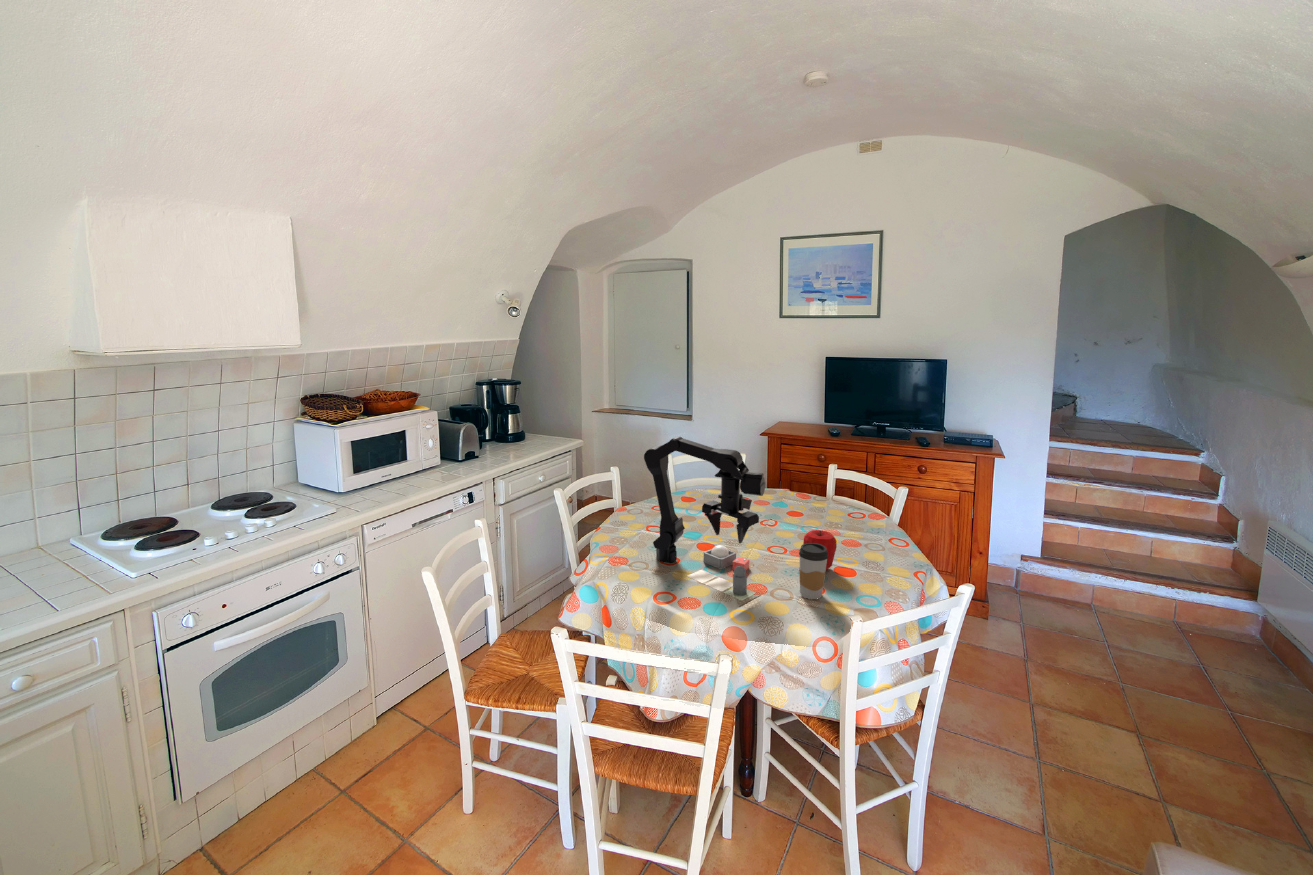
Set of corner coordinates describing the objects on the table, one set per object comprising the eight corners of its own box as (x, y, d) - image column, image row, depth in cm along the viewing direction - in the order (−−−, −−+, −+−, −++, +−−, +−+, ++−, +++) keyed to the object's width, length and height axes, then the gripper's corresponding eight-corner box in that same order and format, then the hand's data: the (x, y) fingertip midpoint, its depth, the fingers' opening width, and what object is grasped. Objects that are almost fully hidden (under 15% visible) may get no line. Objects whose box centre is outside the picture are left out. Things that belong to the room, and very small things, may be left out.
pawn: (730, 592, 178) (730, 566, 176) (738, 587, 180) (739, 562, 179) (740, 597, 175) (740, 570, 173) (749, 592, 178) (749, 566, 176)
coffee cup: (820, 588, 183) (823, 541, 180) (829, 601, 175) (832, 553, 172) (793, 588, 183) (796, 542, 179) (800, 601, 175) (803, 553, 171)
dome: (706, 562, 199) (707, 545, 197) (718, 557, 203) (719, 540, 201) (720, 568, 194) (721, 551, 193) (732, 563, 198) (733, 545, 197)
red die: (732, 573, 193) (732, 560, 192) (737, 568, 196) (737, 555, 195) (744, 575, 191) (744, 563, 190) (748, 571, 194) (749, 558, 193)
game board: (681, 580, 188) (681, 576, 188) (703, 570, 195) (703, 567, 194) (739, 607, 172) (739, 603, 172) (761, 595, 179) (761, 591, 178)
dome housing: (702, 565, 199) (703, 552, 198) (718, 558, 204) (718, 545, 203) (721, 572, 193) (721, 559, 192) (736, 565, 199) (736, 552, 198)
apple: (835, 577, 190) (838, 537, 187) (802, 574, 192) (804, 534, 189) (833, 563, 200) (835, 525, 197) (801, 561, 202) (803, 522, 199)
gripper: (770, 492, 185) (768, 540, 189) (723, 479, 198) (722, 524, 202) (748, 500, 178) (746, 550, 181) (701, 486, 191) (700, 533, 194)
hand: (728, 538), depth 190 cm, fingers open, 9 cm apart
